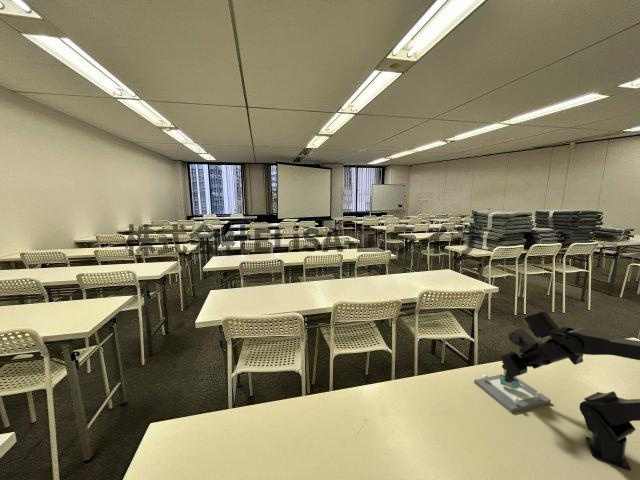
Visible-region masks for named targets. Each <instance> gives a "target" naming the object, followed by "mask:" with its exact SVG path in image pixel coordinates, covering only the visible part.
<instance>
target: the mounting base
mask: <svg viewBox="0 0 640 480" xmlns="http://www.w3.org/2000/svg"><path fill="white" fill-rule="evenodd" d="M500 376H501V374H497V375H492V376H488V375H487V374H482V378H477V379H474V380H473V384H475V385H476V386H477V387H479V388H480V389H481V390H482V391H484V392H485V393H486V394H487V395H488V396H490V397H491V398H492V399H494V400H495V402H497V403H498V404H500V405H501V406H502V407H503V408H505V410H507V411H508V412H509V413H515V412H519V411H523V410H527V409H531V408H538V407H539V406H543V405H549V404H551V401H552V399H550V398H549V397H547V396H546V395H544V394H543V393H542V392H541V391H538V390H537V389H535V388H534V387H532V386H530V385H529V384H527V383H525V381H523V380H521V379H520V378H518V377H517V380H518V383H519V384H523V385H524V386H521V385H518V386H520V387H521V388H518V389H515V388H510V387H508V386H505V385H501V382H500ZM522 387H523V388H524V389H523V388H522Z"/></svg>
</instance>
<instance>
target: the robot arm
mask: <svg viewBox="0 0 640 480" xmlns="http://www.w3.org/2000/svg"><path fill="white" fill-rule="evenodd" d="M522 321H523V322H524V324H526V326H527V328H529V330H530V332H531V333H532V335H534V336H535V337H536V338H537V339H538V338H541V339H542V340H543V339H546V338H548V339H546V340H543V341H542V340H541V341H539V342H538V341H537V340H535V338H534V337H533V336H532V335H531V334H529V333H528V332H527V331H526V330H524V329H522V328H517V329H514V330H512V331H511V332H510V333H508V341H510V342H511V343H512V344H513V345H515V346H518V347H519V349H518V351H520V353H521V354H518V353H517V352H514V351H511V352H510V351H509V352H507V353H504V354H501V355H500V356H501V357H500V358H501V361H502V360H503V361H504V364H503V363H502V365H501V368H502V369H503V370H504V369H505V370H509V371H510V372H511V373H512V375H513V376H516V377H517V376H521V375H524V374H526V373H528V368H533V369H535V370H536V369H539V368H541V367H543V366H548V365H551V364H553V363H554V364H555V363H556V362H557V363H558V362H560V361H563V360H566V359H568V360H569V361H570V362H571V364H573V365H578V364H581V363H583V362H584V358H583V356H584V355H586V356H587V355H588V356H589V355H590V356H615V357H620V358H625V359H630V360H635V361H640V340H636V339H635V340H634V339H629V338H628V339H626V338H620V337H615V336H613V335H610V334H607V333H605V332H602V331H598V330H596V329H592V328H587V327H579V328H574V327H571V326H570V327H569V326H560V327H559V326H558V324H556V322H555V321H554V320H553V319H552V318H551V316H550V314H549V313H548V311H546V310H543V311H539V312H538V313H535V314H532V315H531V314H530V315H528V316H526V317H524V318H522ZM549 337H550V338H549ZM583 400H584V401H582V402H580V403H579V411H580V413H581V415H582V416H583V419H584V421H585V424H586V428H587V430H588V431H589V432H591V435H590V437H588V436H585V437H584V440H585V442H586V445H587V447H588V449H589V451H590V453H591V456H592V457H593V458H595V459H598V460H601V461H602V462H603V461H604V462H606V463H609V464H612V465H615V466H617V467H619V468H622V469H625V470H627V471H631V465H630V464H629V462H628V461H627V459H626V457H625V453H626V447H627V439H628V438H627V437H628V436H629V435H632V434H633V433H634V432H635V431H636V427H635V426H634V425H633V424H632V423H631V422H638V421H639V422H640V398H633V399H632V398H631V399H628V398H627V399H626V398H622V397H618V396H617V393H616V392H615V391H610V392H599V391H598V392H595V393H593V394H591V395H589V396H586V397H584V399H583Z"/></svg>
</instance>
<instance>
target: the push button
mask: <svg viewBox="0 0 640 480" xmlns="http://www.w3.org/2000/svg"><path fill="white" fill-rule="evenodd" d="M501 363H502V365H503V364H504V361H503V360H502V359H501ZM500 375H501V376H500V382H501V385H505V386H508V387H510V388H515V389H518V388H521V387H520V386H518V385H521V386H524V385H523V384H519V383H518V380H517V378H518V377H517V376H513V375H512V373H511V372H510V371H509V370H505V369H503V373H501V374H500ZM522 388H523V387H522ZM523 389H524V388H523Z"/></svg>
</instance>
